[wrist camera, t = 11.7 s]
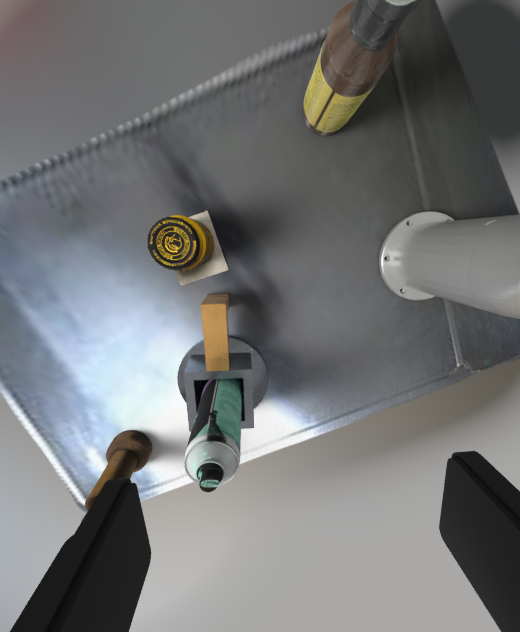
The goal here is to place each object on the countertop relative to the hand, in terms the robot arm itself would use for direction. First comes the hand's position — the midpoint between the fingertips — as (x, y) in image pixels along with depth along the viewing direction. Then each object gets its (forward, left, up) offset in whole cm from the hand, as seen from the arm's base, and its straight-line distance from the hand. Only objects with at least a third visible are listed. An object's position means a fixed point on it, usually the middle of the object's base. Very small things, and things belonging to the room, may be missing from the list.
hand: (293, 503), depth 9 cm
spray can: (+5, +13, -34) cm, 37 cm away
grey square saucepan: (+5, +10, -35) cm, 37 cm away
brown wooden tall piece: (+21, +25, -35) cm, 49 cm away
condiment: (+8, -7, -36) cm, 37 cm away
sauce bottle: (-10, -24, -35) cm, 44 cm away
